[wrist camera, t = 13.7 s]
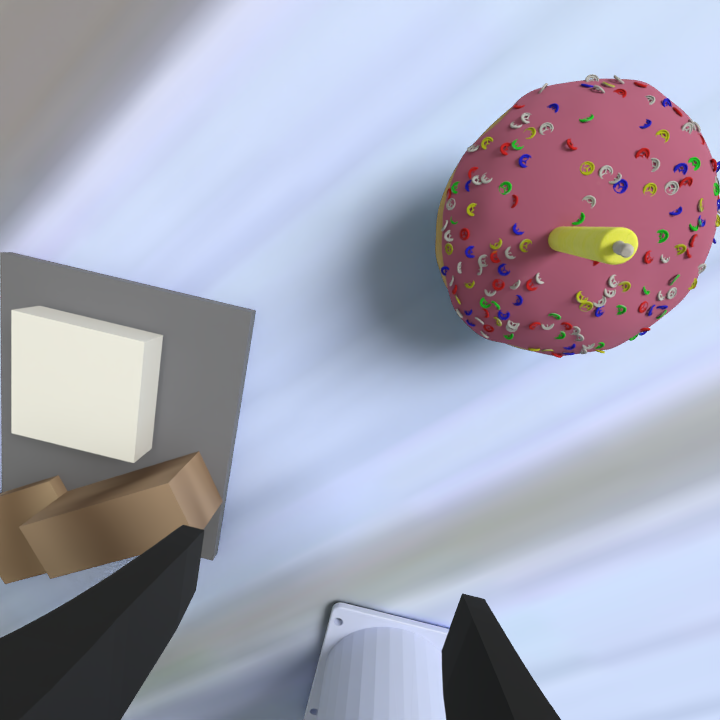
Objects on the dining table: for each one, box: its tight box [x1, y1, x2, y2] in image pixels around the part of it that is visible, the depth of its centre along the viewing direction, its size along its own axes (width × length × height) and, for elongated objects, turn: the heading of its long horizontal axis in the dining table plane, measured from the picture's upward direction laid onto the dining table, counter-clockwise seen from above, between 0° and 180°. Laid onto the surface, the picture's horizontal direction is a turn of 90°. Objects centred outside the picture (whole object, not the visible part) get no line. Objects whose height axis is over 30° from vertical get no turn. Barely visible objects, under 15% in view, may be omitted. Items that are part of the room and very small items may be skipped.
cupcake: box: [435, 74, 720, 358], centre depth 12 cm, size 9×8×12 cm
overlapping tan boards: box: [0, 451, 223, 584], centre depth 21 cm, size 14×5×3 cm, turn 109°
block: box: [11, 306, 163, 463], centre depth 20 cm, size 6×2×6 cm
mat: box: [0, 252, 256, 560], centre depth 21 cm, size 14×12×1 cm
